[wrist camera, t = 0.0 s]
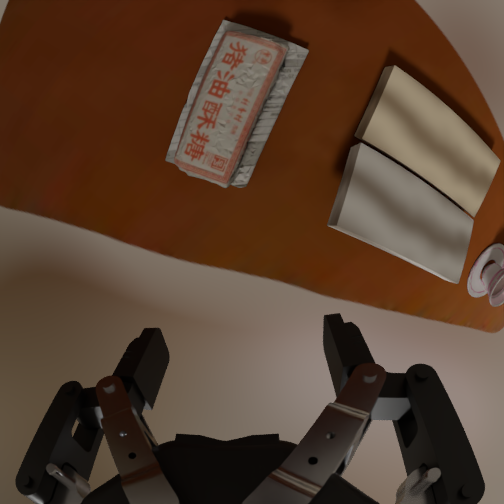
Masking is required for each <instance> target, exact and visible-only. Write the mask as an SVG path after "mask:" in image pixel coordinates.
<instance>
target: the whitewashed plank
mask: <svg viewBox="0 0 504 504" xmlns="http://www.w3.org/2000/svg"><path fill="white" fill-rule="evenodd" d="M473 222H474V220H473V219H471V218H470V217H469V216H468V215H467V214H466V213H464V212H463V211H462V210H461V209H459V208H458V207H457V206H456V205H454V204H453V203H452V202H451V201H449V200H448V199H447V198H445V197H444V196H443V195H441V194H440V193H439V192H437V191H436V190H435V189H433V188H432V187H430V186H429V185H428V184H426V183H425V182H423V181H422V180H421V179H419V178H418V177H416V176H415V175H413V174H412V173H410V172H409V171H407V170H406V169H404V168H403V167H401V166H400V165H398V164H396V163H395V162H393V161H392V160H390V159H388V158H387V157H385V156H383V155H382V154H380V153H378V152H377V151H375V150H373V149H372V148H370V147H368V146H366V145H365V144H363V143H359V144H357V145H355V146H353V147H351V148H350V152H349V156H348V159H347V163H346V166H345V169H344V173H343V176H342V180H341V183H340V186H339V189H338V193H337V196H336V199H335V202H334V205H333V208H332V212H331V215H330V218H329V221H328V224H327V226H329V227H332V228H334V229H337V230H339V231H341V232H344V233H346V234H348V235H350V236H353V237H355V238H357V239H360V240H362V241H364V242H366V243H369V244H371V245H373V246H375V247H377V248H380V249H382V250H384V251H386V252H388V253H391V254H393V255H395V256H397V257H399V258H401V259H403V260H405V261H408V262H410V263H412V264H414V265H416V266H418V267H420V268H422V269H424V270H426V271H428V272H430V273H432V274H434V275H436V276H438V277H440V278H442V279H444V280H446V281H449V282H453V283H456V284H458V283H459V280H460V276H461V273H462V269H463V266H464V262H465V258H466V254H467V250H468V246H469V241H470V237H471V232H472V227H473Z"/></svg>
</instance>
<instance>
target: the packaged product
mask: <svg viewBox="0 0 504 504" xmlns="http://www.w3.org/2000/svg"><path fill="white" fill-rule="evenodd" d="M308 52H309V50H307V49H305V48H303V47H301V46H298V45H296V44H294V43H291V42H288V41H286V40H284V39H281V38H279V37H276V36H273V35H270V34H267V33H264V32H262V31H259V30H256V29H253V28H250V27H247V26H244V25H240V24H237V23H233V22H229V21H226V20H223V22H222V24H221V26H220V28H219V30H218V31H217V33H216V35H215V37H214V39H213V41H212V43H211V46H210V48H209V50H208V52H207V54H206V56H205V58H204V60H203V63H202V65H201V67H200V69H199V71H198V74H197V76H196V79H195V81H194V83H193V85H192V88H191V90H190V93H189V95H188V99H187V103H186V104H185V106H184V108H183V111H182V114H181V116H180V118H179V121H178V125H177V128H176V130H175V133H174V136H173V138H172V141H171V144H170V147H169V150H168V153H167V156H166V160H165V161H169V162H171V163H174V164H176V165H177V166H178V167H179V169H180V170H181V171H185V172H186V173H187V174H188V175H189V176H193V177H197V178H201V179H206V180H208V181H210V182H211V183H216V184H218V185H220V186H222V187H223V188H227V187H229V184H230V185H233V186H236V187H238V188H241V187H246V186H247V184H248V181H249V179H250V177H251V174H252V172H253V170H254V167H255V165H256V162H257V160H258V158H259V156H260V154H261V152H262V149H263V147H264V145H265V143H266V141H267V139H268V136H269V134H270V132H271V129H272V127H273V125H274V123H275V121H276V119H277V117H278V115H279V113H280V111H281V108H282V106H283V104H284V101H285V99H286V97H287V94H288V92H289V90H290V88H291V86H292V84H293V82H294V80H295V78H296V76H297V74H298V72H299V70H300V68H301V66H302V64H303V62H304V60H305V58H306V56H307V54H308Z"/></svg>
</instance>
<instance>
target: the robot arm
mask: <svg viewBox="0 0 504 504" xmlns="http://www.w3.org/2000/svg"><path fill="white" fill-rule="evenodd" d="M323 328H324V331H323V346H324V352H325V356H326V360H327V363H328V367H329V371H330V374H331V378H332V382H333V385H334V389H335V393H336V397H337V398H336V400H335V402H334V403H329V404H328V405H327V406H326V407H325V409H324V410H323V412H322V413H321V415H320V416H319V417H318V419H317V420H316V422H315V423H314V424H313V426H312V427H311V428H310V430H309V431H308V432H307V434H306V435H305V436H304V438H303V439H302V440H301V441H300V443H299V444H298V445H297V444H294V443H291V442H287V441H281V440H279V434H266V435H251V436H247V437H243V438H239V439H234V440H229V441H222V440H217V439H213V438H209V437H205V436H201V435H188V434H176V438H175V440H174V441H169V442H166V443H163V444H160V445H158V443H157V441H156V440H155V438H154V436H153V434H152V432H151V430H150V429H149V426H148V424H147V422H146V421H145V419H144V417H143V415H142V411H143V409H146V410H152V409H153V406H154V403H155V400H156V397H157V394H158V391H159V388H160V386H161V383H162V379H163V377H164V374H165V371H166V369H167V366H168V363H169V351H168V348H167V346H166V343H165V340H164V337H163V335H162V332H161V330H160V328H144V330H143V331H142V333H141V335H140V337H139V338H136V339H134V340H133V341H132V342H131V343H130V344H129V346H128V347H127V349H126V352H125V353H124V355H123V357H122V358H121V360H120V362H119V364H118V366H117V367H116V369H115V371H114V373H113V375H112V376H107V377H104V378H103V379H101V380H100V381H99V382H98V383H97V385H96V387H91V388H84V389H83V387H82V386H81V384H80V383H79V382H77V381H70V382H67V383H65V384H64V385H62V386H61V388H60V389H59V391H58V393H57V394H56V396H55V398H54V400H53V402H52V403H51V405H50V407H49V409H48V411H47V413H46V414H45V416H44V418H43V420H42V422H41V424H40V426H39V428H38V430H37V432H36V434H35V436H34V438H33V440H32V442H31V444H30V447H29V449H28V451H27V453H26V455H25V457H24V460H23V462H22V464H21V467H20V469H19V471H18V474H17V476H16V487H17V489H18V491H19V492H20V493H21V494H23V495H24V496H26V497H27V498H29V499H30V500H32V501H33V502H34V503H35V504H379V503H378V502H376V501H375V500H373V499H372V498H370V497H369V496H367V495H366V494H364V493H363V492H362V491H360V490H359V489H357V488H356V487H354V486H353V485H352V484H350V483H349V482H347V481H346V480H345V479H343V478H342V477H341V476H342V474H343V473H344V471H345V470H346V468H347V466H348V465H349V463H350V461H351V459H352V458H353V456H354V454H355V452H356V450H357V448H358V446H359V444H360V442H361V441H362V439H363V437H364V435H365V433H366V431H367V430H368V428H369V426H370V424H371V422H372V420H392V421H393V425H394V427H395V431H396V435H397V438H398V442H399V446H400V449H401V453H402V457H403V460H404V465H405V469H406V472H407V478H406V480H405V481H404V482H403V483H402V484H401V485H400V486H399V488H398V490H397V493H396V503H395V504H477V503H478V502H479V501H480V500H481V498H482V496H483V494H484V491H485V483H484V480H483V477H482V474H481V471H480V469H479V466H478V463H477V460H476V458H475V455H474V452H473V450H472V447H471V445H470V443H469V440H468V438H467V436H466V433H465V431H464V428H463V427H462V424H461V422H460V419H459V417H458V415H457V413H456V411H455V409H454V407H453V404H452V402H451V400H450V398H449V396H448V394H447V392H446V390H445V388H444V386H443V384H442V382H441V380H440V379H439V377H438V375H437V373H436V371H435V370H434V369H433V368H432V367H431V366H428V365H426V364H415V365H413V366H411V367H410V368H409V369H408V370H407V372H406V373H388V372H386V371H385V369H384V368H383V367H382V366H380V365H378V364H375V362H374V359H373V357H372V355H371V353H370V351H369V348H368V346H367V344H366V342H365V340H364V338H363V336H362V334H361V332H360V330H359V328H358V327H357V326H356V325H355V324H353V323H352V322H348V323H344V322H343V319H342V317H341V315H340V313H338V314H330V315H324V327H323ZM76 419H77V420H78V422H79V424H78V426H77V429H76V431H75V433H74V436H73V437H72V433H71V431H72V428H73V425H74V423H75V420H76ZM104 434H105V437H106V440H107V443H108V446H109V449H110V451H111V454H112V456H113V459H114V462H115V464H116V467H117V469H118V472H119V474H117V475H116V476H115V477H113V478H112V479H110V480H109V481H107V482H106V483H104V484H103V485H101V486H100V487H98V488H97V489H95V490H94V491H92V492H90V490H91V489H90V485H89V483H88V480H89V477H90V474H91V471H92V468H93V464H94V461H95V458H96V455H97V452H98V449H99V446H100V443H101V441H102V438H103V435H104Z"/></svg>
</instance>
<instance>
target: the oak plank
mask: <svg viewBox="0 0 504 504" xmlns="http://www.w3.org/2000/svg"><path fill="white" fill-rule="evenodd" d="M354 136H355V137H357V138H359V139H360V140H362V141H364V142H366V143H368V144H369V145H371V146H373V147H374V148H376V149H378V150H380V151H381V152H383V153H385V154H386V155H388V156H389V157H391V158H393V159H394V160H396V161H397V162H399V163H400V164H402V165H404V166H405V167H407V168H408V169H410V170H411V171H413V172H414V173H416V174H417V175H418V176H420V177H421V178H423V179H424V180H426V181H427V182H428V183H430V184H431V185H433V186H434V187H435V188H437V189H438V190H439V191H441V192H442V193H443V194H445V195H446V196H447V197H448V198H450V199H451V200H452V201H454V202H455V203H456V204H457V205H459V206H460V207H461V208H462V209H463V210H465V211H466V212H468V213H469V214H470V215H472V216H473V217H475V215H476V213H477V211H478V209H479V207H480V205H481V203H482V201H483V199H484V197H485V195H486V193H487V191H488V189H489V187H490V184H491V182H492V180H493V178H494V175H495V173H496V171H497V168H498V166H499V163H500V160H499V159H498V157H497V156H496V155H495V154H494V153H493V152H492V150H491V149H490V148H489V147H488V146H487V145H486V144H485V143H484V142H483V140H482V139H481V138H480V137H479V136H478V135H477V134H476V133H475V132H474V131H473V130H472V129H471V128H470V127H469V126H468V125H467V124H466V123H465V122H464V121H463V120H462V119H461V118H460V117H459V116H458V115H457V114H456V113H455V112H453V111H452V110H451V109H450V108H449V107H448V106H447V105H446V104H445V103H443V102H442V101H441V100H440V99H439V98H438V97H436V96H435V95H434V94H433V93H431V92H430V91H429V90H428V89H426V88H425V87H424V86H423V85H421V84H420V83H419V82H417V81H416V80H415V79H413V78H412V77H411V76H409V75H408V74H407V73H405V72H404V71H402V70H401V69H400V68H398V67H397V66H395V65H393V66H388V67H385V68H384V70H383V73H382V75H381V77H380V80H379V82H378V84H377V86H376V89H375V91H374V93H373V96H372V98H371V100H370V102H369V104H368V107H367V109H366V111H365V113H364V116H363V118H362V120H361V122H360V124H359V126H358V129H357V131H356V133H355V135H354Z"/></svg>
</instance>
